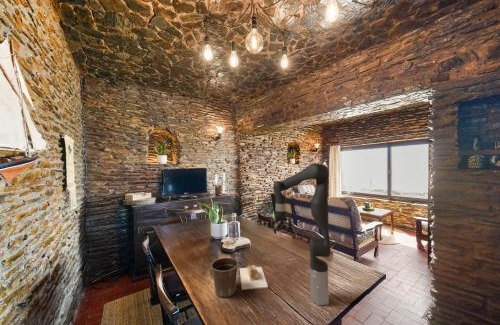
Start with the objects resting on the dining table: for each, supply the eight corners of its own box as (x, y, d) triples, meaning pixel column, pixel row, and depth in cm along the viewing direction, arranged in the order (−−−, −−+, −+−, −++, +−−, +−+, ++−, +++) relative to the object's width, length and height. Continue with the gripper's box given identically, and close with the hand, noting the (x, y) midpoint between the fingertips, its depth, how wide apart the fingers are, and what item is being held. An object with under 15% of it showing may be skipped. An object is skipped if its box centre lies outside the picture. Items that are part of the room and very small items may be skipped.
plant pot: (205, 291, 116) (205, 263, 117) (227, 279, 128) (227, 255, 128) (222, 304, 105) (222, 274, 105) (244, 291, 116) (244, 263, 116)
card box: (254, 272, 135) (254, 264, 135) (258, 279, 127) (258, 271, 127) (247, 273, 134) (247, 265, 134) (250, 280, 125) (250, 272, 126)
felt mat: (268, 287, 119) (268, 286, 119) (241, 289, 117) (241, 288, 117) (261, 267, 143) (261, 266, 143) (239, 268, 141) (239, 268, 141)
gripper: (288, 208, 141) (289, 231, 141) (269, 209, 139) (269, 232, 139) (292, 210, 134) (292, 234, 133) (272, 211, 132) (272, 235, 131)
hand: (281, 233), depth 136 cm, fingers open, 8 cm apart
